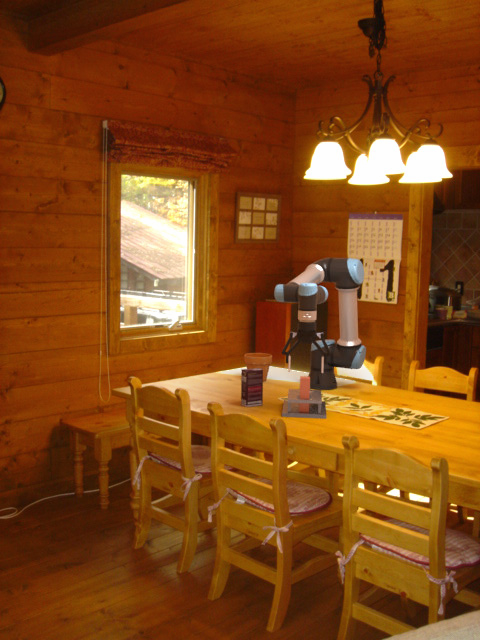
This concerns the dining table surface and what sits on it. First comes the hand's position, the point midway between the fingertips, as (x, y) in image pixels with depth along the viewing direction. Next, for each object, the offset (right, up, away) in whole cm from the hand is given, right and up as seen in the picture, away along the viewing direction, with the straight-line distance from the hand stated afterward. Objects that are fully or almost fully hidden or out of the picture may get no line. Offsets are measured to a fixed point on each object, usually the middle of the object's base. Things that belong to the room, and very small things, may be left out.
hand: (305, 371), depth 301 cm
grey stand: (0, -17, +8) cm, 19 cm away
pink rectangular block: (-1, -16, +1) cm, 16 cm away
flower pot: (-18, -10, +72) cm, 75 cm away
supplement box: (-22, -16, +16) cm, 31 cm away
